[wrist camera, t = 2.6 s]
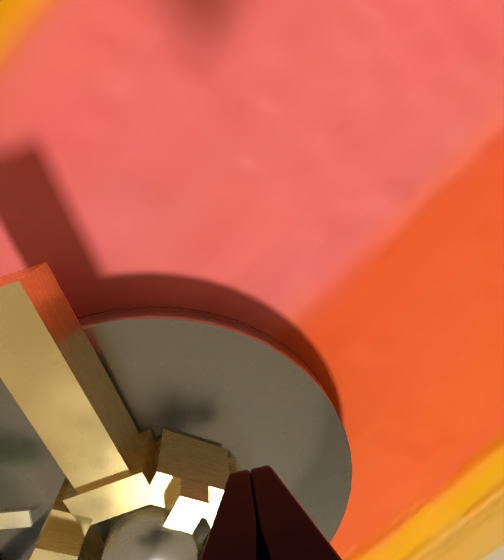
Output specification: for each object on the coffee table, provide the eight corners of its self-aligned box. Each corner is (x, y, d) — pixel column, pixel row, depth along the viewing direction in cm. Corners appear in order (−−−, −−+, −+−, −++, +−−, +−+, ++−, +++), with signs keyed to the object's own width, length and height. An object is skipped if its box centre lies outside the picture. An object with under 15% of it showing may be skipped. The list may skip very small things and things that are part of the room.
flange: (362, 553, 24) (396, 639, 19) (49, 646, 23) (14, 759, 19) (309, 258, 17) (345, 293, 13) (-141, 374, 16) (-263, 453, 12)
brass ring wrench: (272, 540, 20) (285, 610, 17) (107, 600, 20) (90, 681, 17) (136, 230, 14) (118, 251, 11) (-103, 312, 14) (-190, 357, 11)
